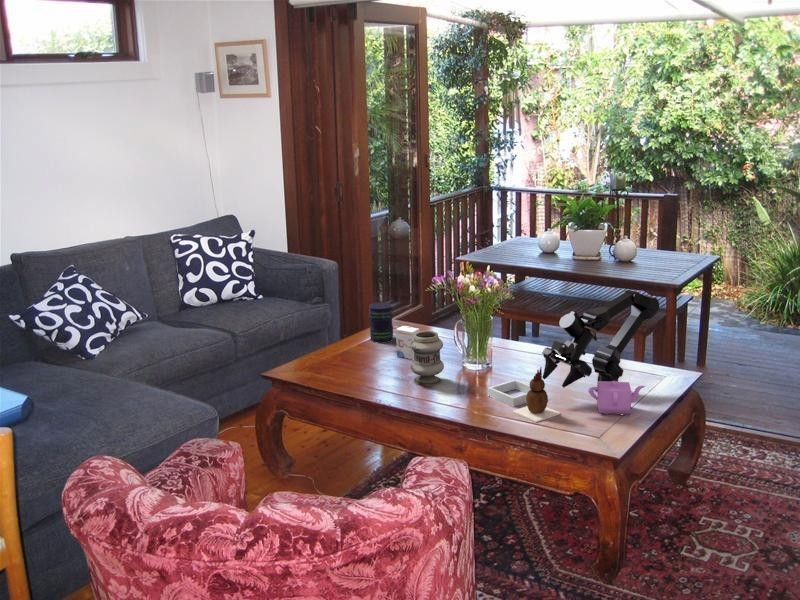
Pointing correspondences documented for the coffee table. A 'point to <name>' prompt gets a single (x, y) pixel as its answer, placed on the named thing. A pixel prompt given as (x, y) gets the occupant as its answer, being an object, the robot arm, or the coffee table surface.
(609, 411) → the teapot
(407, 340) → the ink box
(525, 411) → the tile
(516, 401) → the white square tray
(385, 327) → the storage jar
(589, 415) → the coffee table surface
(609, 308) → the robot arm
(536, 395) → the wooden figurine
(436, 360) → the apothecary jar
